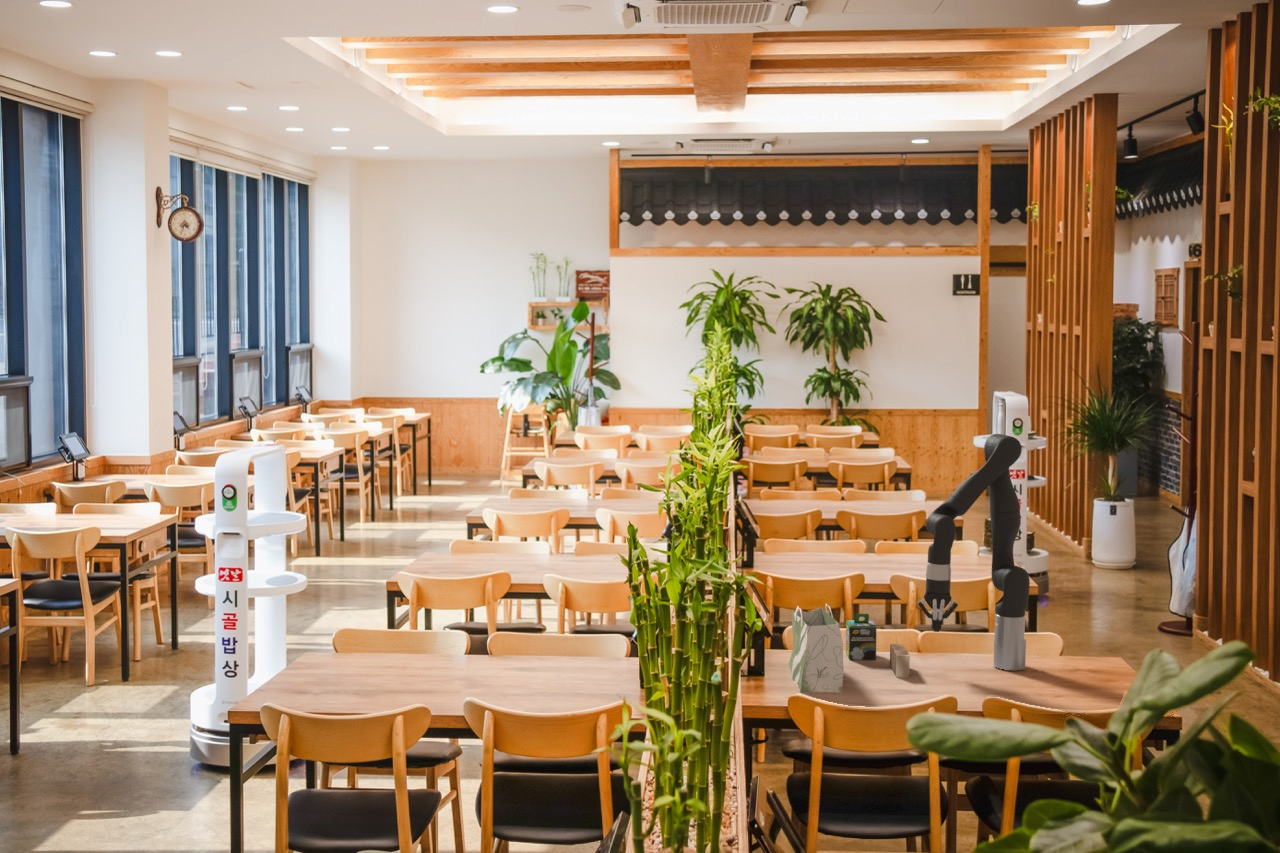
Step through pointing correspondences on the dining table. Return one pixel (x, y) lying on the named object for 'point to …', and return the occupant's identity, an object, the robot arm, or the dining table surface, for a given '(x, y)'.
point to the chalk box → (861, 638)
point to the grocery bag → (816, 651)
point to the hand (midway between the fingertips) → (936, 631)
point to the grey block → (899, 660)
